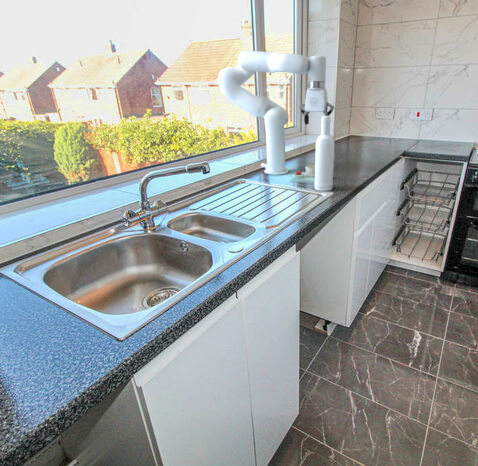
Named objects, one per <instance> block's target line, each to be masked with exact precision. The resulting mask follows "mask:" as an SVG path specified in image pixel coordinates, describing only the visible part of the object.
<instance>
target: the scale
mask: <svg viewBox="0 0 478 466" xmlns="http://www.w3.org/2000/svg"><path fill="white" fill-rule="evenodd" d="M291 182H292V183H293V182H294V183H303V184H312V185H313V184H314V185H315V177H307V176H306V175H305V171H301V175H296V172H295V173H293V174H292V179H291Z"/></svg>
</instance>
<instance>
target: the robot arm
mask: <svg viewBox="0 0 478 466" xmlns="http://www.w3.org/2000/svg"><path fill="white" fill-rule="evenodd" d="M237 59H238V60H237V61H238V64H237V65H235V67H225V68H223V69H221V70H220V72H219V73H218V78H217V83H218V87H219V89H220V91H221V93H222V94H223V96H224V97H225V98H227V100H229V101H230V102H232V103H233V104H235V105H236V106H238V107H239V108H241V109H242V110H244V111H246V112H248V113H249V114H250V115H251V116H253V117H256V118H259V117H261V118H263V119H264V129H265V140H266V142H265V143H266V163H264V162H263V163H261V164H260V167H261V168H262V169H263V168H264V174H266V175H270V176H282V175H286V174H288V173H289V169H288V168H286V134H285V133H286V132H285V131H286V130H285V125H287V123H288V122H289V117H290V116H289V112H288V110H287V109H285V108H284V107H282V105H280V104H278V103H276V102H275V101H273V100H271V99H270V98H268V97H266V96H264V95H263V96H262V95H256V94H254V93H252V92H251V91H249V90H247V89H246V88H244V87H243V85H244V84H245V83H246V82H247V81H248V80H249V79H250V78H252V76H254V74H255V73H257V72H258V73H267V74H268V73H270V74H274V73H287V74H298V75H307V74H308V82H307V83H306V84H305V86H306V87H308V89H306V94H305V100H304V103H302V104H300V105H299V106H298V108H299V110H300V112H301V114H302V115H303V117H304V118H303V121H304V125H309V124H310V123H309V121H310V116H309V114H310V113H323V114H324V116H330V115H331V114H332V113H333V111H334V109H335V106H334V104H332V103H330V102H329V101H328V99H329V98H328V90H327V88H326V74H327V57H326V56H324V55H311V56H305V55H302V54H297V53H284V52H283V53H282V52H274V51H260V50H243V51H241V52H240V53H239V55H238V58H237ZM328 108H329V110H328Z"/></svg>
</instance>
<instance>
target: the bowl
mask: <svg viewBox="0 0 478 466" xmlns="http://www.w3.org/2000/svg"><path fill="white" fill-rule="evenodd" d="M304 172H305V175H306V176H307V177H315V164H307V165H305V171H304Z"/></svg>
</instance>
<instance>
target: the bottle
mask: <svg viewBox="0 0 478 466" xmlns="http://www.w3.org/2000/svg"><path fill="white" fill-rule="evenodd" d="M331 121H332V119H331V116H330V115H329V116H325V115H322V116H321V120H320V123H321V126H320V127H321V128H320V135H319V136H318V137H317V139H316V141H315V160H314V161H315V163H314V165H315V184H314V190H316V191H321V192H328V191H331V190H333V187H334V182H333V181H334V162H335V144H336V143H335V140H334V137H333V136H332V134H331V123H332V122H331Z"/></svg>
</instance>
